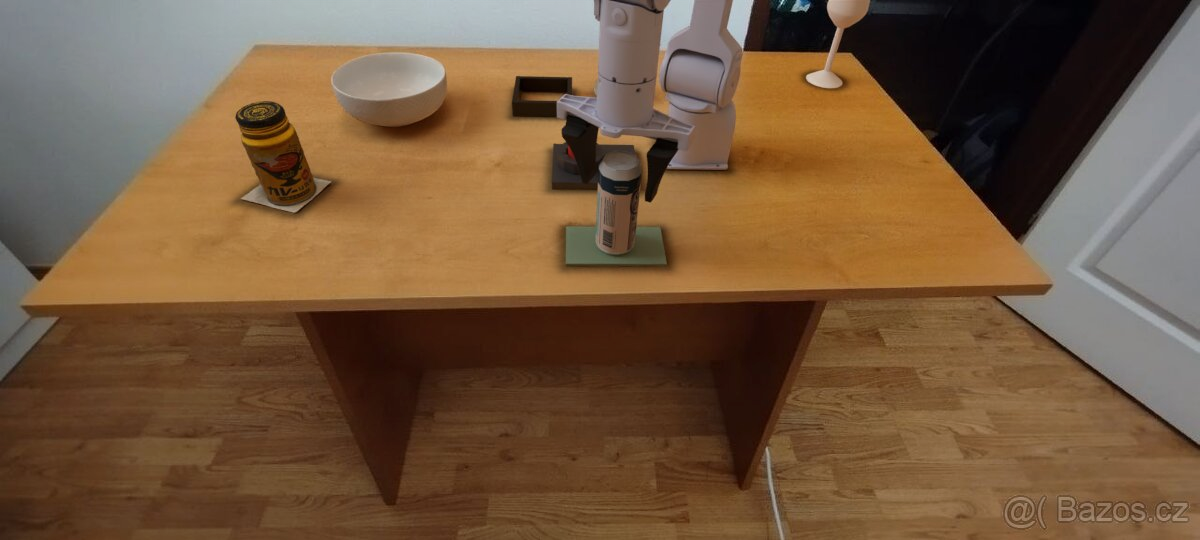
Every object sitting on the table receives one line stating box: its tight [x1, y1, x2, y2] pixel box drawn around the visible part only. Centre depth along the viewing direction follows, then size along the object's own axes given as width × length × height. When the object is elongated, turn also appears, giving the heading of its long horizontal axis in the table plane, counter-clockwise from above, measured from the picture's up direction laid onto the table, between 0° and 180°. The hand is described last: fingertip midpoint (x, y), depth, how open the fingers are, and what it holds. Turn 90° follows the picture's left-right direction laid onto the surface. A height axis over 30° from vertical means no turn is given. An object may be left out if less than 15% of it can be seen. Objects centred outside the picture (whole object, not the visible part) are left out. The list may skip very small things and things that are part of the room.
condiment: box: [234, 100, 332, 213], centre depth 72 cm, size 7×8×12 cm
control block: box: [551, 141, 636, 191], centre depth 82 cm, size 12×10×3 cm
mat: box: [565, 225, 668, 267], centre depth 71 cm, size 12×7×1 cm, turn 92°
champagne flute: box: [805, 0, 871, 89], centre depth 100 cm, size 7×7×24 cm
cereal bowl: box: [330, 51, 448, 128], centre depth 90 cm, size 17×17×7 cm
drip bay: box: [511, 75, 573, 118], centre depth 96 cm, size 10×10×2 cm
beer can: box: [595, 151, 643, 255], centre depth 66 cm, size 5×5×12 cm
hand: (619, 188), depth 65 cm, fingers open, 7 cm apart
